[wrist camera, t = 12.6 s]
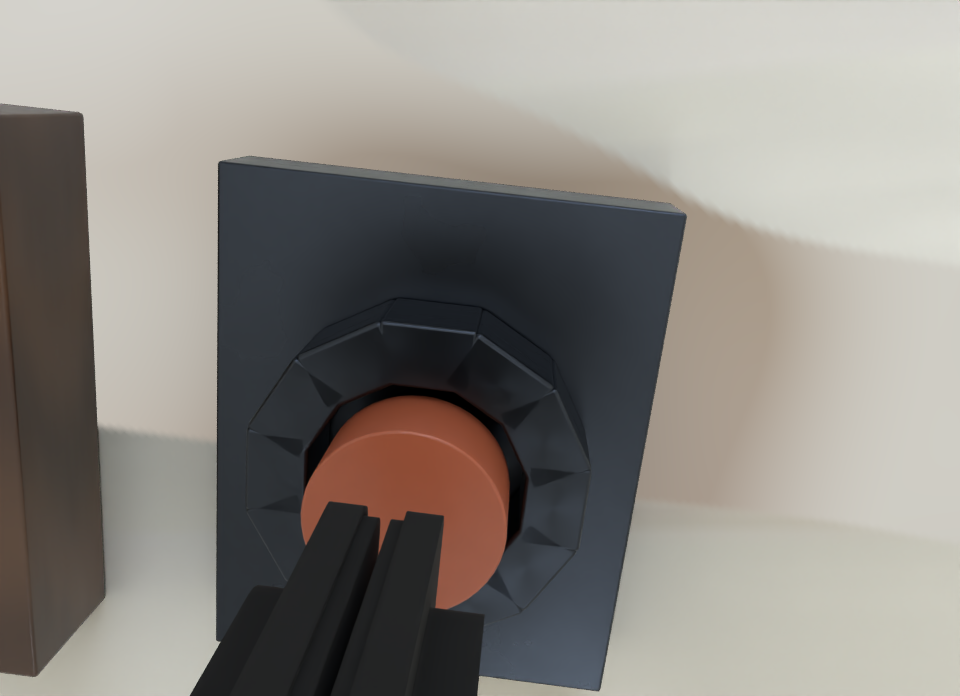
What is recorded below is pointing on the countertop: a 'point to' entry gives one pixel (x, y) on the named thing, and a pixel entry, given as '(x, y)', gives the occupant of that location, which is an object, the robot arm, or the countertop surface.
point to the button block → (445, 372)
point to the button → (422, 482)
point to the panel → (46, 391)
